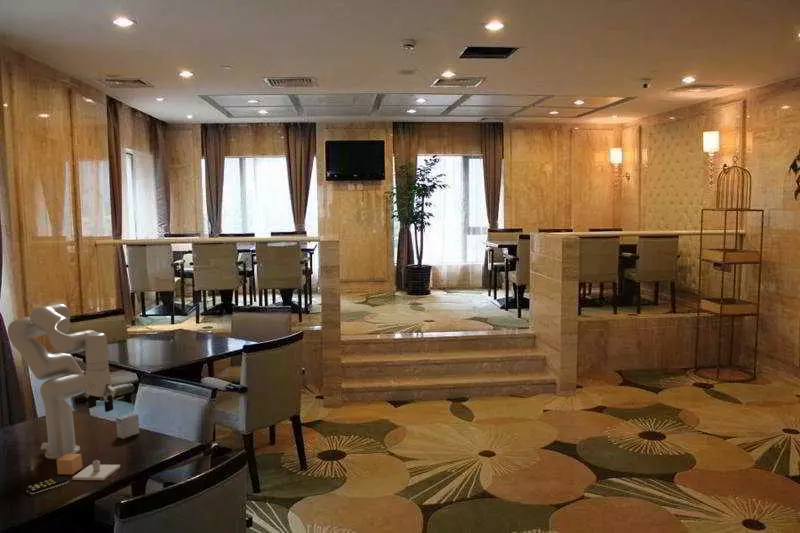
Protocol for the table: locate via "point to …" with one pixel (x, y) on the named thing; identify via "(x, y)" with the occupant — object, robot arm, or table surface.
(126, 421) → the medicine box
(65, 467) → the cardboard shipping carton
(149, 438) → the table surface
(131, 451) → the table surface
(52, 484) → the remote control
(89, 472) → the post base
